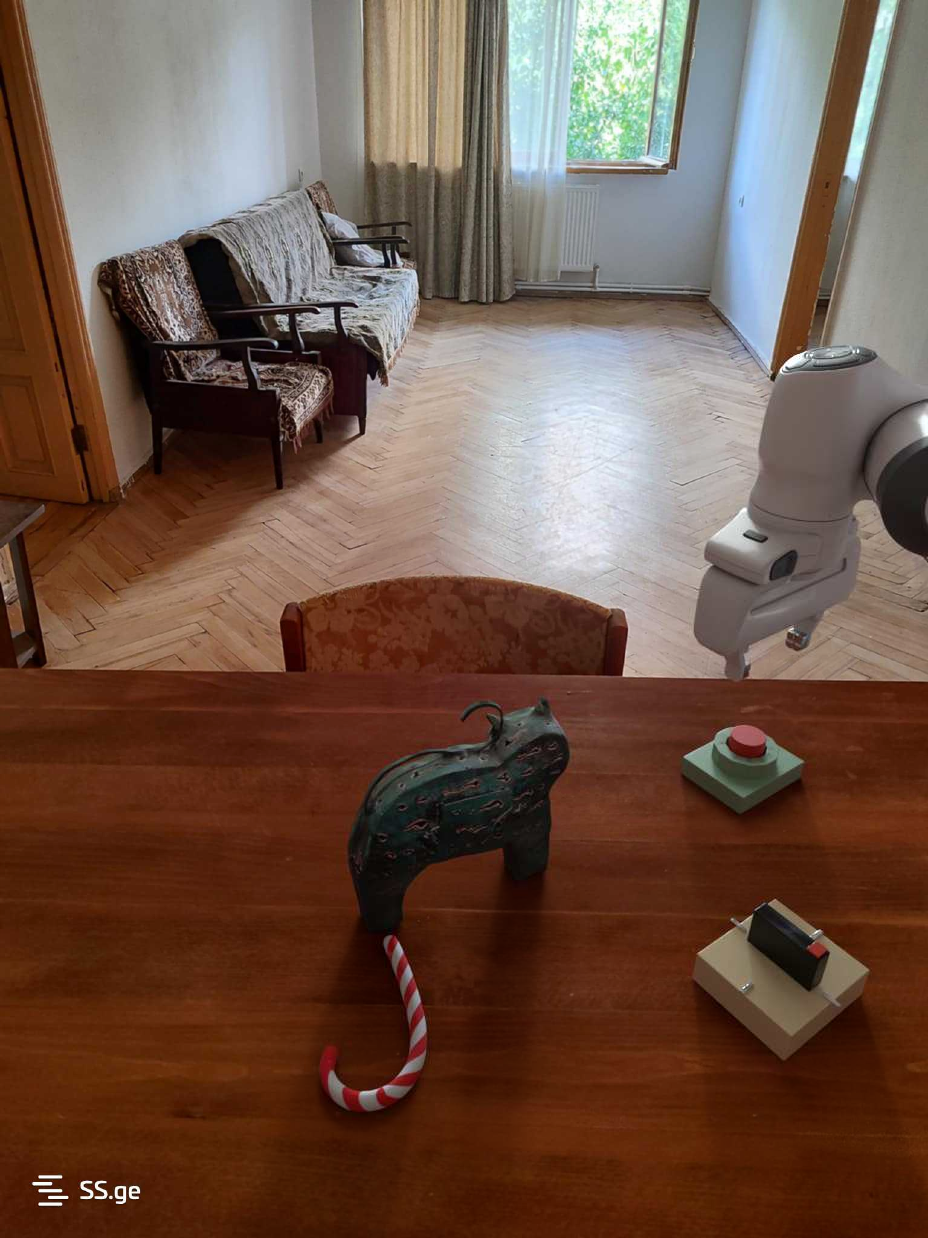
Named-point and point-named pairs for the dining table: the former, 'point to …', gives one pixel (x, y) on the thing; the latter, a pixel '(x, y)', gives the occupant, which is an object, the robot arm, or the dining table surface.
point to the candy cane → (415, 1061)
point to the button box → (741, 772)
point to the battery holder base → (777, 986)
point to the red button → (747, 741)
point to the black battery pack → (788, 946)
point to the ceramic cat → (458, 809)
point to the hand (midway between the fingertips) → (766, 662)
